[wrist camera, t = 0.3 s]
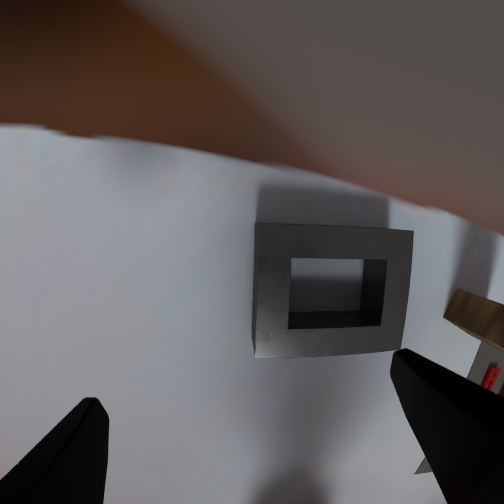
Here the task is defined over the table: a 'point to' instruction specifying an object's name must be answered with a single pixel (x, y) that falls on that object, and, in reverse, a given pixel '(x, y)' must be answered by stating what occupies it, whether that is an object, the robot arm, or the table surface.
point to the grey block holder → (330, 322)
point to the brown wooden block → (478, 317)
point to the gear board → (482, 379)
